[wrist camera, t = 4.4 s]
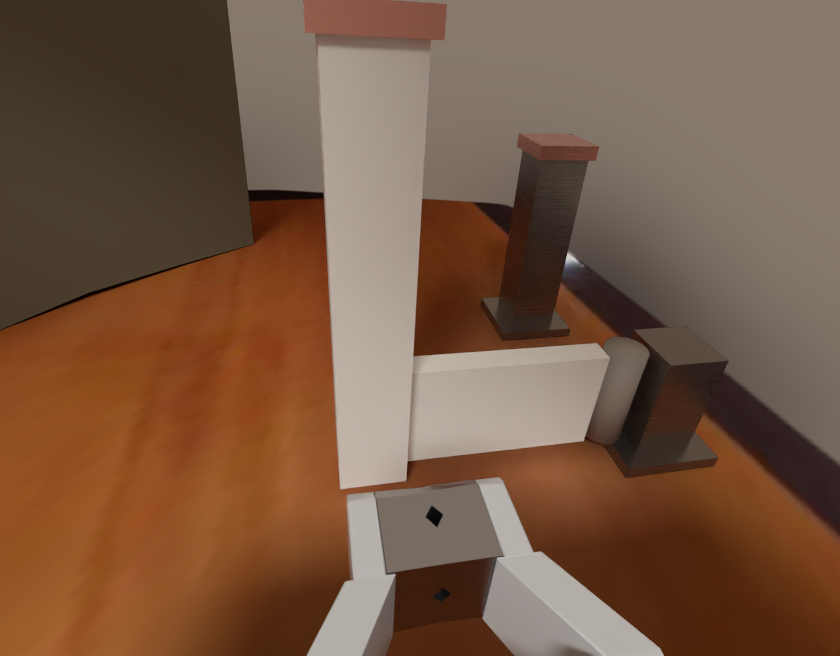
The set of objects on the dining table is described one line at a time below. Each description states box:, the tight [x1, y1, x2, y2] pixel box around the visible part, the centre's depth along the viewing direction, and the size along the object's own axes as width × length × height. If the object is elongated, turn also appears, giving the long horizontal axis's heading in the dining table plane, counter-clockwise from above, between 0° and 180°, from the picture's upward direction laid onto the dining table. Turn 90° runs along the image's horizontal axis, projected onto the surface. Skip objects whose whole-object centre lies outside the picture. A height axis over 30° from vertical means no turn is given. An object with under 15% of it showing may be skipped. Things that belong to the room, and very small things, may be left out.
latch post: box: [481, 133, 599, 340], centre depth 33 cm, size 5×5×13 cm
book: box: [0, 0, 254, 330], centre depth 34 cm, size 22×9×28 cm, turn 144°
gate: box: [303, 0, 649, 489], centre depth 20 cm, size 15×4×18 cm, turn 101°
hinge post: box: [603, 326, 728, 478], centre depth 25 cm, size 5×5×6 cm
